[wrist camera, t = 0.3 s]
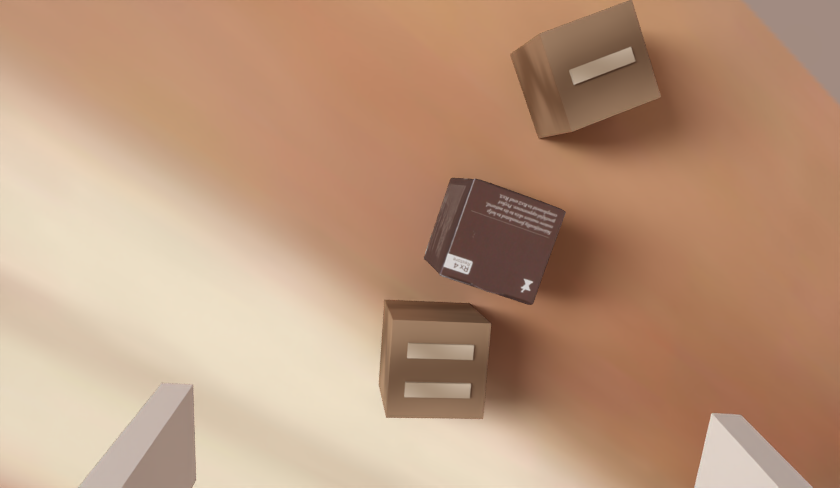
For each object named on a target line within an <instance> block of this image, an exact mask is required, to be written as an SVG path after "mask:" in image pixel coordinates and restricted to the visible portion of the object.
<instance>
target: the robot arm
mask: <svg viewBox="0 0 840 488" xmlns="http://www.w3.org/2000/svg"><path fill="white" fill-rule="evenodd" d="M195 481H196V461H195V429H194V397H193V385H192V384H174V383H161V384H160V386H159V387H158V388H157V389H156V391H155V392H154V393H153V394H152V396H151V397H150V398H149V399H148V401H147V402H146V403H145V404H144V406H143V407H142V408H141V409H140V411H139V412H138V413H137V414H136V416H135V417H134V418H133V419H132V421H131V422H130V423H129V424H128V426H127V427H126V428H125V429H124V431H123V432H122V433H121V434H120V436H119V437H118V438H117V439H116V440H115V442H114V443H113V444H112V445H111V447H110V448H109V449H108V450H107V452H106V453H105V454H104V455H103V457H102V458H101V459H100V460H99V462H98V463H97V464H96V465H95V467H94V468H93V469H92V470H91V472H90V473H89V474H88V475H87V477H86V478H85V479H84V480H83V482H82V483H81V484H80V485H79V487H78V488H192V487H193V485H194V483H195ZM694 488H813V487H812V486H811V485H810V484H809V483H808V482H807V481H806V480H805V479H804V478H803V477H802V476H801V475H800V474H799V473H798V472H797V471H796V470H795V469H794V468H793V467H792V466H791V465H790V464H789V463H788V462H787V461H786V460H785V459H784V458H783V457H782V456H781V455H780V454H779V453H778V452H777V451H776V450H775V449H774V448H773V447H772V446H771V445H770V444H769V443H768V442H767V441H766V440H765V439H764V438H763V437H762V436H761V435H760V434H759V433H758V432H757V431H756V430H755V429H754V428H753V427H752V426H751V425H750V424H749V423H748V422H747V420H746V419H745V418H744V417H743V416H742V415H737V414H719V413H712V414H711V418H710V422H709V427H708V431H707V435H706V440H705V444H704V448H703V453H702V457H701V461H700V466H699V470H698V474H697V479H696V483H695V487H694Z"/></svg>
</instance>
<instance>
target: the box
mask: <svg viewBox="0 0 840 488" xmlns="http://www.w3.org/2000/svg"><path fill="white" fill-rule="evenodd" d="M565 213H566V212H565V211H564V210H562V209H560V208H557V207H555V206H552V205H549V204H547V203H544V202H542V201H539V200H536V199H533V198H530V197H528V196H525V195H522V194H519V193H517V192H514V191H511V190H508V189H505V188H502V187H500V186H497V185H494V184H492V183H488V182H485V181H482V180H479V179H464V178H451V179H450V182H449V185H448V188H447V191H446V193H445V197H444V200H443V203H442V206H441V209H440V212H439V214H438V217H437V221H436V224H435V227H434V229H433V232H432V235H431V238H430V241H429V243H428V246H427V249H426V252H425V256H424V259H425V260H426V261H427V262H428V263H429V264H430V265H431V266H432V267H433V268H434V269H435V270H436V271H437V272H438V273H439V274H440V276H443V277H446V278H449V279H452V280H455V281H458V282H461V283H464V284H467V285H470V286H473V287H477V288H480V289H482V290H484V291H487V292H491V293H495V294H498V295H501V296H504V297H507V298H510V299H513V300H516V301H518V302H522V303H525V304H528V305H532V304H533V303H534V300H535V297H536V294H537V291H538V288H539V285H540V283H541V279H542V277H543V274H544V271H545V268H546V265H547V263H548V260H549V257H550V254H551V252H552V249H553V246H554V243H555V241H556V238H557V235H558V232H559V230H560V227H561V224H562V221H563V218H564V216H565Z"/></svg>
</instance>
